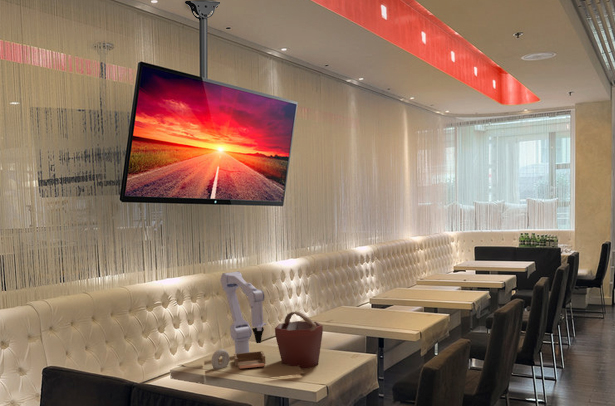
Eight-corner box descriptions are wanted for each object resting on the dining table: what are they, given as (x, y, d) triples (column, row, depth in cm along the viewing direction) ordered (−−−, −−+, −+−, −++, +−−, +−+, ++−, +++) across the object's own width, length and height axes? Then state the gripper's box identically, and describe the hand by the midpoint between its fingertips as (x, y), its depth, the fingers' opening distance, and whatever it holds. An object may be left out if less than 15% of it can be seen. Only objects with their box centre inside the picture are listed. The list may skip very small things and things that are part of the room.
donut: (214, 373, 272) (213, 351, 272) (210, 372, 274) (209, 350, 274) (231, 368, 279) (230, 347, 279) (226, 367, 281) (225, 346, 281)
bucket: (329, 368, 271) (326, 314, 271) (283, 374, 265) (280, 318, 265) (314, 356, 295) (311, 306, 295) (271, 361, 289) (268, 310, 289)
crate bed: (234, 364, 287) (233, 353, 287) (262, 361, 289) (262, 351, 290) (236, 369, 276) (235, 359, 276) (265, 366, 279) (265, 356, 279)
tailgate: (238, 365, 276) (239, 366, 269) (263, 363, 278) (265, 363, 272) (238, 368, 276) (239, 368, 269) (263, 365, 278) (265, 366, 271)
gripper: (267, 316, 280) (268, 345, 280) (263, 311, 294) (264, 339, 294) (252, 318, 279) (253, 346, 279) (249, 313, 293) (250, 340, 293)
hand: (258, 342), depth 286 cm, fingers closed
